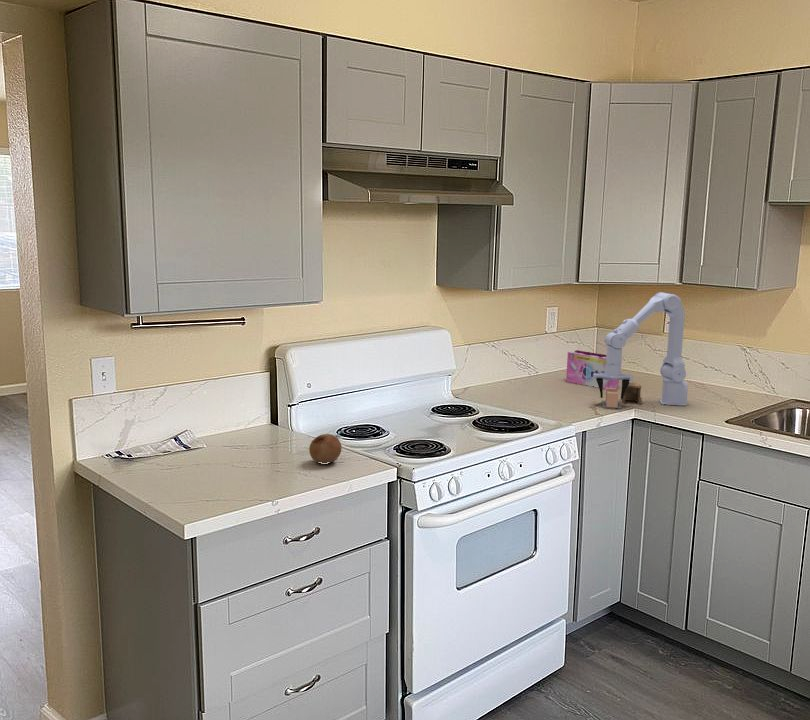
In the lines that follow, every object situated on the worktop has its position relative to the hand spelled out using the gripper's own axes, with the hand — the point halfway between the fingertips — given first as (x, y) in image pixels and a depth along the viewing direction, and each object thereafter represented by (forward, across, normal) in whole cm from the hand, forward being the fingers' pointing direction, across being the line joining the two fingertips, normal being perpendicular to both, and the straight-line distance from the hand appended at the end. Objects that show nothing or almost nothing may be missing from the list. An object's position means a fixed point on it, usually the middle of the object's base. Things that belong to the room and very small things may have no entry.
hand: (611, 397), depth 315 cm
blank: (+2, 0, -1) cm, 2 cm away
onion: (+3, -88, -96) cm, 130 cm away
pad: (+3, 0, 0) cm, 3 cm away
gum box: (+3, -6, +38) cm, 39 cm away
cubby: (+3, +8, +8) cm, 11 cm away
